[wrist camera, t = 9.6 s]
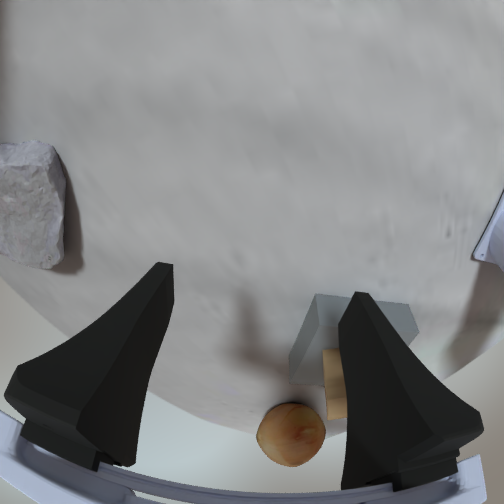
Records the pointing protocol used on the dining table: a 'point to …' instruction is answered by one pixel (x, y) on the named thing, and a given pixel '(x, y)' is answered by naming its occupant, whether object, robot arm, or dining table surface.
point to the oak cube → (334, 384)
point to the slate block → (335, 334)
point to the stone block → (31, 204)
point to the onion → (291, 434)
